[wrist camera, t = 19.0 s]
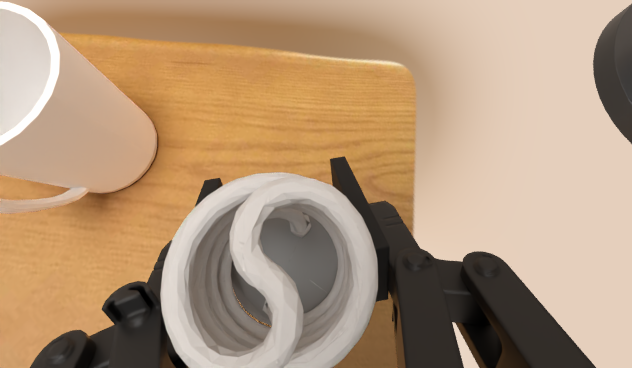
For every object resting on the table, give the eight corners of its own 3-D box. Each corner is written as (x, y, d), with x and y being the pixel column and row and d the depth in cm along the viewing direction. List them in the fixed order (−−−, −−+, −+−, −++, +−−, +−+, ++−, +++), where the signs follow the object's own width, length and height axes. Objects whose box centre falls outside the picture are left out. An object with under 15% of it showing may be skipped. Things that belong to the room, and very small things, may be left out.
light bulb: (259, 207, 18) (163, 129, 6) (346, 220, 18) (410, 164, 6) (240, 301, 17) (80, 414, 5) (334, 315, 17) (387, 465, 5)
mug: (66, 100, 25) (-99, 1, 15) (168, 98, 25) (73, -2, 15) (43, 226, 23) (-172, 208, 13) (157, 223, 23) (34, 203, 13)
